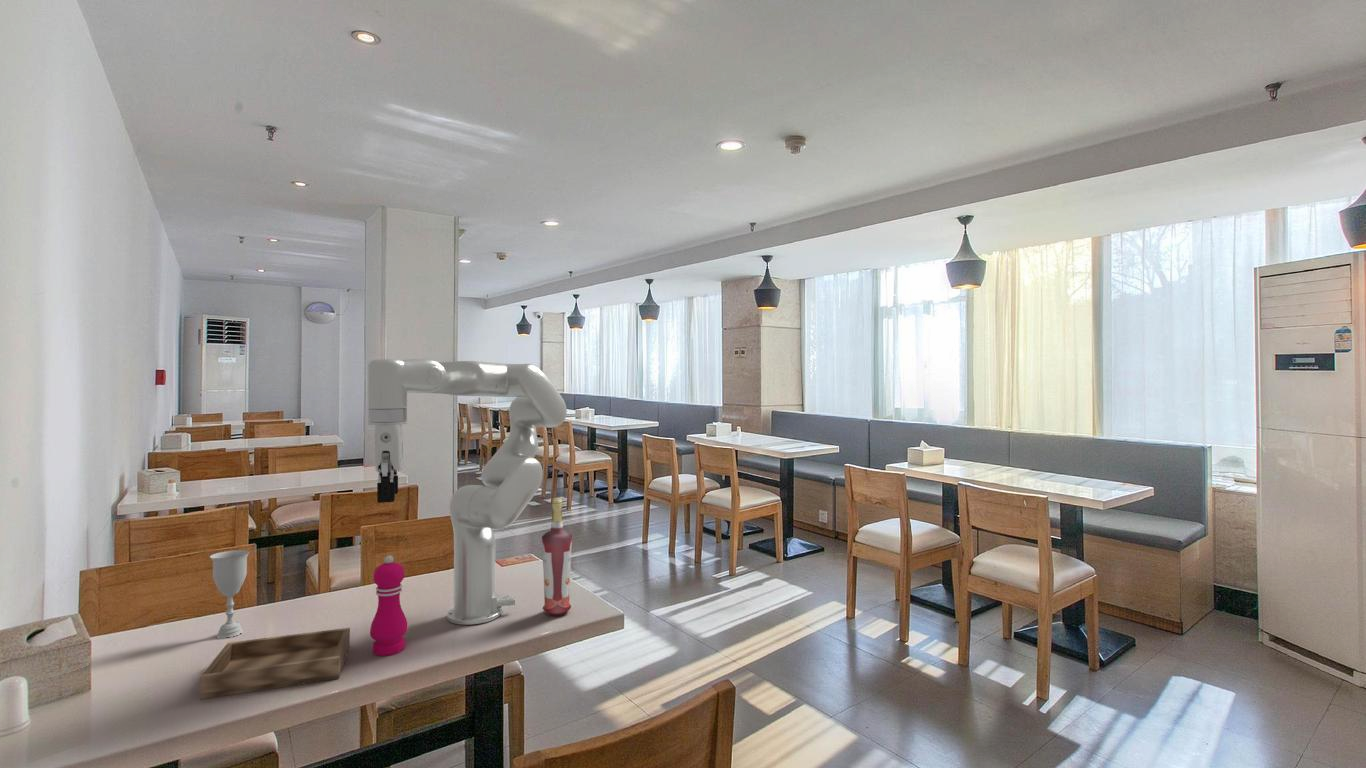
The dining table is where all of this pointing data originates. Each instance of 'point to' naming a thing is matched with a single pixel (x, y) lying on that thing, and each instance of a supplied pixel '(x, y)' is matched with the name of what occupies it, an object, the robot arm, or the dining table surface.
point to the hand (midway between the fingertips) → (388, 497)
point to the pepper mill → (388, 610)
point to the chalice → (229, 584)
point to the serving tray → (276, 662)
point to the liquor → (556, 563)
